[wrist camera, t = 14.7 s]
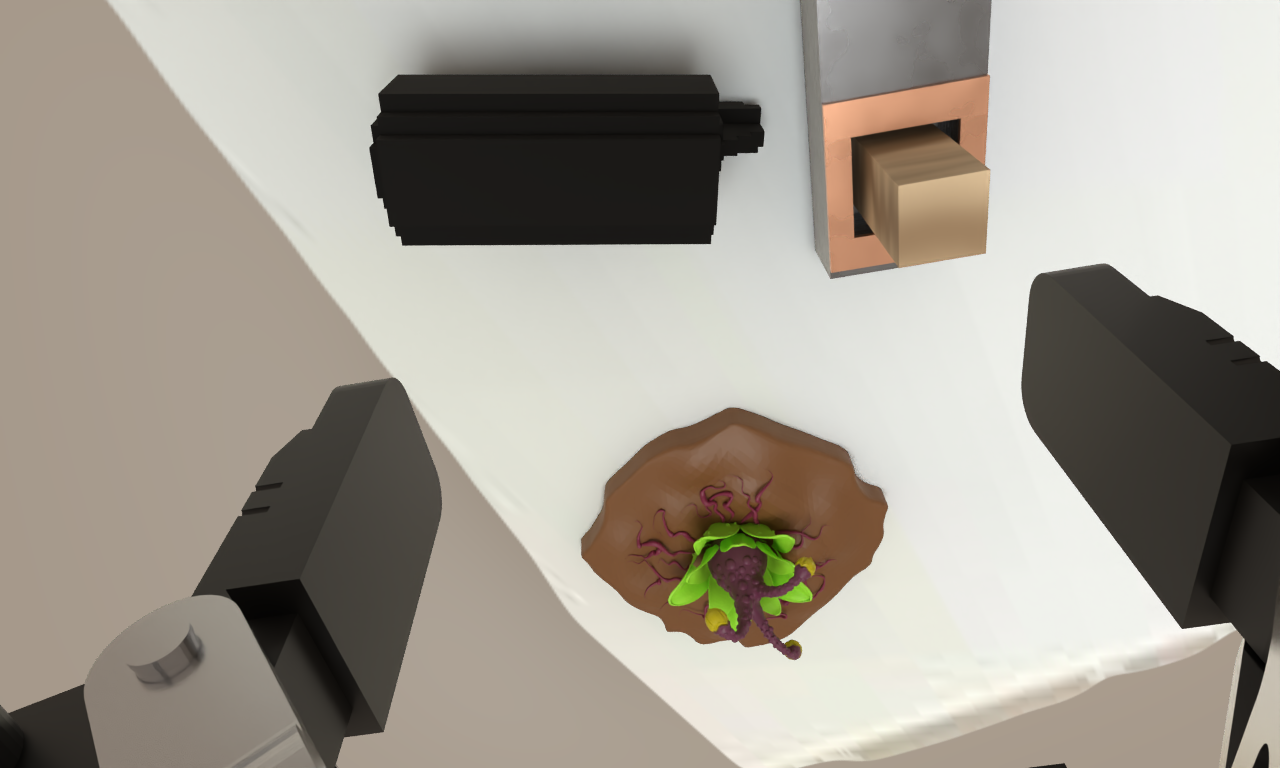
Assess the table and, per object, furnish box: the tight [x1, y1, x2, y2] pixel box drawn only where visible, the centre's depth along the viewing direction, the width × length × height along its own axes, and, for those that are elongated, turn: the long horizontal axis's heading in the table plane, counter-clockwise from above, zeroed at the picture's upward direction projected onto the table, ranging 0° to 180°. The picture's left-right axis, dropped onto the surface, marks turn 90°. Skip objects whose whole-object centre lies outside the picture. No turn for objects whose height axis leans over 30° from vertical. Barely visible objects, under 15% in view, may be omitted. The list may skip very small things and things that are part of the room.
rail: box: [800, 0, 991, 279], centre depth 40 cm, size 24×8×4 cm, turn 10°
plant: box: [581, 408, 888, 660], centre depth 56 cm, size 20×20×11 cm
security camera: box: [369, 75, 764, 246], centre depth 40 cm, size 7×18×10 cm, turn 90°
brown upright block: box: [851, 123, 990, 268], centre depth 41 cm, size 4×4×9 cm
